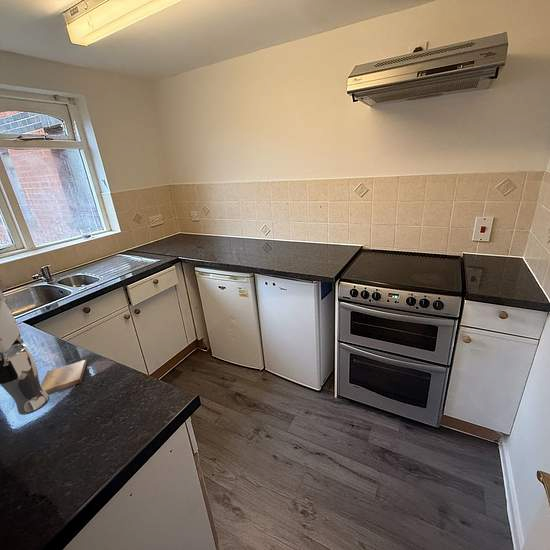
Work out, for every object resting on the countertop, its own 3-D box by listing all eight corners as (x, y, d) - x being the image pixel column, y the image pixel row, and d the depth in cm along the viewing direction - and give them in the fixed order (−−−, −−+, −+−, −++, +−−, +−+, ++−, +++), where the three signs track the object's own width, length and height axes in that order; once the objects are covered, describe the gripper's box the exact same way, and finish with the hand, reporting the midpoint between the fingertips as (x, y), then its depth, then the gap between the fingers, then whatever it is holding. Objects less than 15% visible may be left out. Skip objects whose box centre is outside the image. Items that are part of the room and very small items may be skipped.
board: (39, 396, 88) (37, 392, 87) (49, 374, 97) (47, 371, 97) (81, 382, 91) (79, 378, 91) (86, 363, 101) (85, 359, 100)
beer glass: (33, 417, 67) (3, 363, 61) (8, 415, 68) (-23, 362, 63) (58, 394, 73) (34, 343, 68) (35, 393, 75) (9, 342, 69)
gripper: (-24, 290, 67) (11, 355, 73) (-72, 324, 52) (-23, 403, 58) (16, 281, 69) (46, 345, 76) (-18, 312, 54) (23, 388, 61)
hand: (16, 370), depth 67 cm, fingers closed on beer glass, 7 cm apart
